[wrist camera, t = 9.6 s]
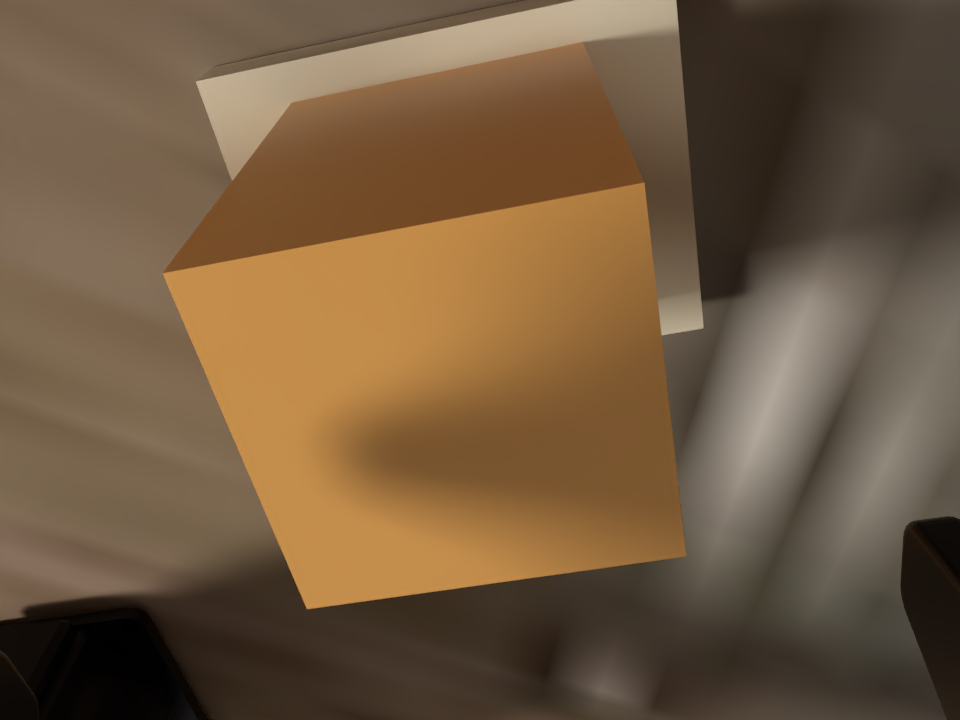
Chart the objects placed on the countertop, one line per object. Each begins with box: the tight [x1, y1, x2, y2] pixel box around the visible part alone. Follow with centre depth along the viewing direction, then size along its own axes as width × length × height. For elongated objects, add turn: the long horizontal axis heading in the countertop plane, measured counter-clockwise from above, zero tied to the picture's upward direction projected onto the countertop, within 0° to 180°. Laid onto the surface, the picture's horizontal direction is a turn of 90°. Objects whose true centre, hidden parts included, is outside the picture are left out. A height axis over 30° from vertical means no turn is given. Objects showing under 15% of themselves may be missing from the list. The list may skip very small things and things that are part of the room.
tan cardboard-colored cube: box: [163, 42, 686, 609], centre depth 14 cm, size 6×6×8 cm
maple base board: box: [196, 0, 703, 335], centre depth 18 cm, size 7×9×1 cm
